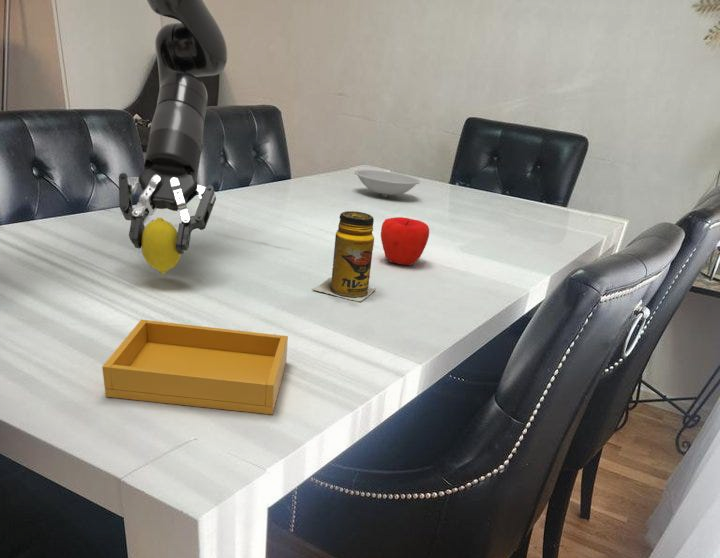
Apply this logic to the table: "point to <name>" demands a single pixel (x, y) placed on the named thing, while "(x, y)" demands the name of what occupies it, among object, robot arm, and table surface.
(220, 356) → the yellow tray
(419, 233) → the apple
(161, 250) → the lemon
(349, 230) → the condiment
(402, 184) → the dish
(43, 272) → the table surface
